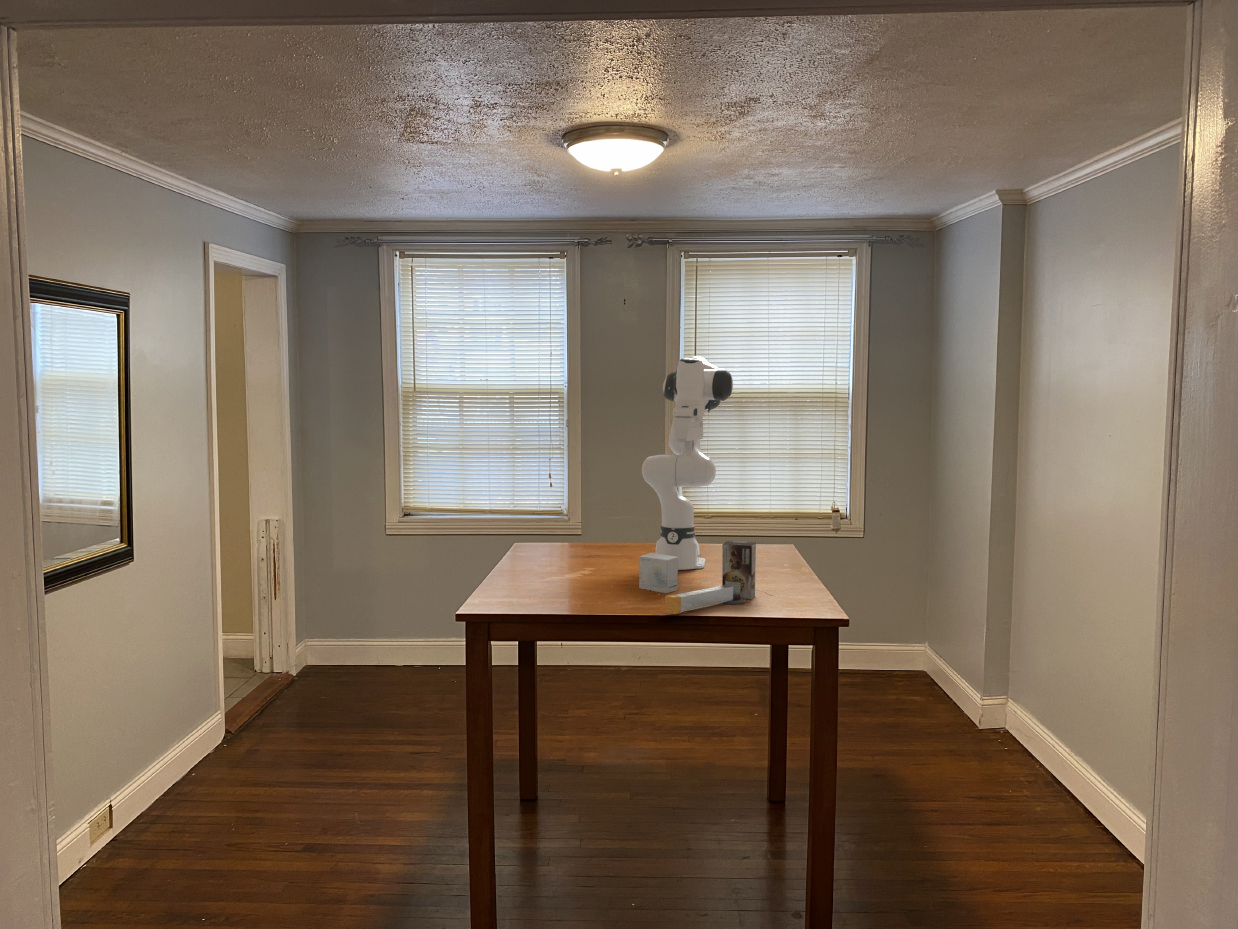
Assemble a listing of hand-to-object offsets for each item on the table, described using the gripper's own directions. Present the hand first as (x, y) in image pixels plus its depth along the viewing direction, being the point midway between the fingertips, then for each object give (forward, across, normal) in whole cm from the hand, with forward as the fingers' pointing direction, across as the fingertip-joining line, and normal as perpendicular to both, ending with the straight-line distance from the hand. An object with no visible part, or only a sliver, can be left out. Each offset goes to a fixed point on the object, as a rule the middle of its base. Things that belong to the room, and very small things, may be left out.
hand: (689, 455), depth 275 cm
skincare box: (+41, +8, -7) cm, 43 cm away
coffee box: (+41, +8, +18) cm, 46 cm away
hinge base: (+41, +16, +18) cm, 48 cm away
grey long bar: (+40, +26, +12) cm, 50 cm away
